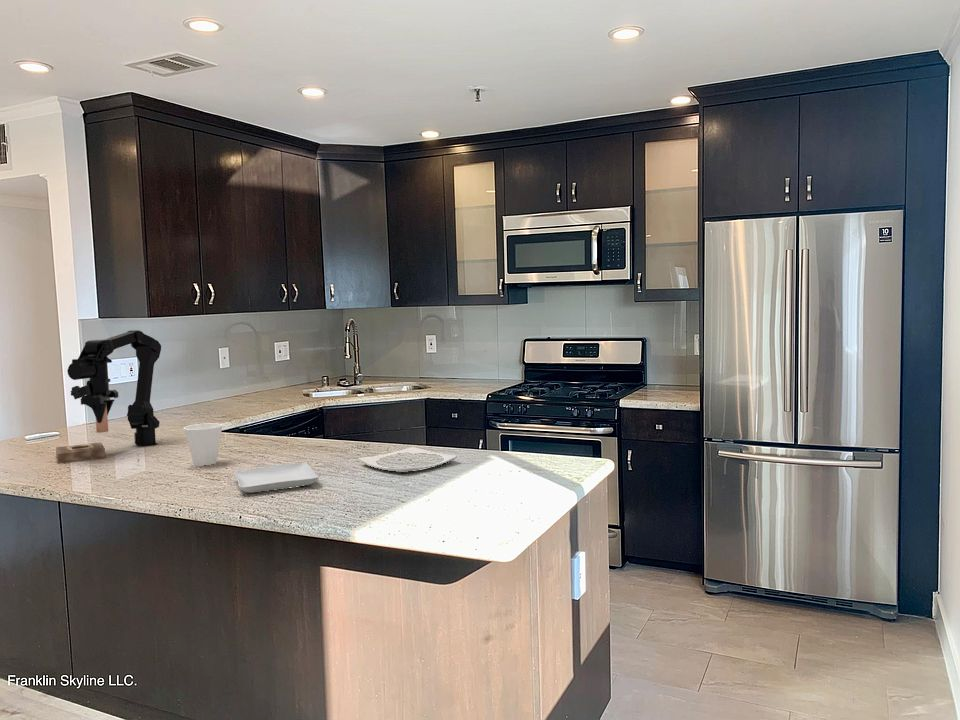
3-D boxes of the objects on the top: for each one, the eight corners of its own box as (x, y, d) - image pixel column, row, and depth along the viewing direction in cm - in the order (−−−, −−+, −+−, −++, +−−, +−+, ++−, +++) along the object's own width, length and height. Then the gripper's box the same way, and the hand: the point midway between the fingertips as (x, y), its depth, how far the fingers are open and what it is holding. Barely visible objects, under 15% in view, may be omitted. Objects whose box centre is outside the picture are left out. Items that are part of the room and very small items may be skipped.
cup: (232, 460, 234) (230, 423, 233) (207, 469, 222) (205, 430, 221) (203, 459, 237) (201, 422, 236) (177, 467, 226) (174, 428, 225)
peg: (107, 430, 248) (105, 404, 247) (109, 431, 245) (107, 405, 244) (96, 431, 246) (94, 405, 245) (97, 433, 243) (95, 406, 242)
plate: (413, 453, 240) (413, 445, 239) (463, 464, 222) (463, 455, 222) (352, 466, 223) (352, 458, 222) (401, 479, 205) (401, 470, 205)
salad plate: (240, 498, 188) (239, 486, 188) (233, 481, 208) (232, 469, 207) (320, 488, 197) (319, 476, 196) (306, 472, 216) (306, 461, 216)
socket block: (101, 451, 256) (101, 441, 255) (105, 457, 244) (104, 447, 244) (56, 456, 248) (55, 446, 248) (58, 463, 236) (57, 453, 236)
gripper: (83, 375, 252) (86, 418, 253) (62, 380, 233) (65, 427, 235) (117, 374, 254) (120, 417, 255) (98, 379, 235) (101, 425, 236)
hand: (101, 421), depth 245 cm, fingers closed on peg, 4 cm apart
